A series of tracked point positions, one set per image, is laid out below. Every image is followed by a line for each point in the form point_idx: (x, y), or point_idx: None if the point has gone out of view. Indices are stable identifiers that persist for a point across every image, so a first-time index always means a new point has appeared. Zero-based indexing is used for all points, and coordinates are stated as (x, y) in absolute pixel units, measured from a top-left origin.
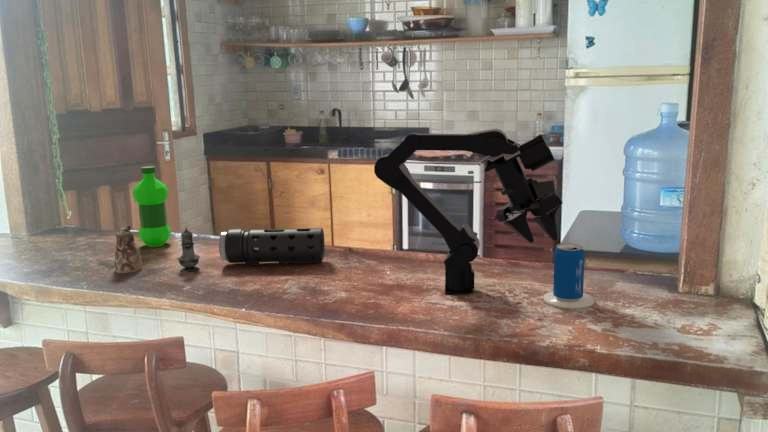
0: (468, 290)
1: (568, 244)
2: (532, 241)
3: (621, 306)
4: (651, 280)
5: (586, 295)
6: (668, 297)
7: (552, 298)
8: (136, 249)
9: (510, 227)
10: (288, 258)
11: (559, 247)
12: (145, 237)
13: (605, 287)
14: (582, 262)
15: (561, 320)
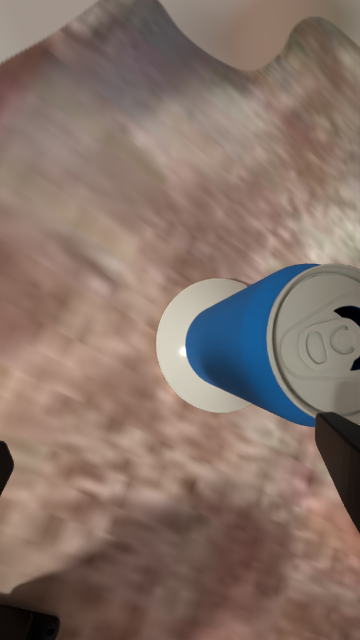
0: (36, 637)
1: (278, 308)
2: (5, 453)
3: (290, 251)
4: (151, 55)
5: (218, 287)
6: (270, 121)
7: (211, 387)
8: None
9: None
10: None
11: (321, 401)
12: None
13: (158, 192)
14: (337, 311)
15: None
